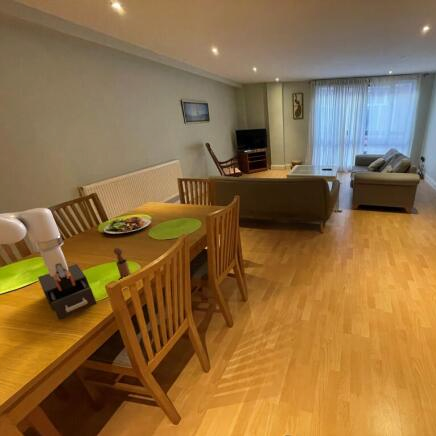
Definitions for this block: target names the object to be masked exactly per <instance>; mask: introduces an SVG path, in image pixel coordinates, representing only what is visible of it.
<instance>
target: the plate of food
mask: <svg viewBox="0 0 436 436" xmlns="http://www.w3.org/2000/svg"><path fill="white" fill-rule="evenodd" d="M151 223H152V218H149V217H143V216H142V217H140V216H130V217H127V218H124V219H123V218H122V219H121V220H120V219H118V218H116V219H114V220H113V221H111V222H110V224H108V225H107V226H105V227H104V228H103V232H104V233H107V234H124V233H130V232H134V231H139V230H141V229H145V227H148V226H149V225H150V224H151Z"/></svg>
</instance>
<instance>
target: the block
mask: <svg viewBox="0 0 436 436" xmlns="http://www.w3.org/2000/svg"><path fill="white" fill-rule="evenodd" d="M66 272H67V275H68V277H70V280H71V282H72V284H73V286H74V285H75V282H74V280H73V278H72V275H71V273H70V272H69V271H66ZM64 274H65V273H64ZM59 276H60V275H59ZM53 278H54V280H55V282H56V285H57V287H58V289H59V291H61V290H62V289H61V287H60V285H59V282H58V281H59V280H58V278H57V275H55V276H53Z"/></svg>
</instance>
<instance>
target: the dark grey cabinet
mask: <svg viewBox="0 0 436 436" xmlns="http://www.w3.org/2000/svg"><path fill="white" fill-rule="evenodd" d="M67 267H68V271H69V272H70V273H71V275H72V278H73V280H74V282H77V281H79V280H83V281H84V283H85V284H86V286H87V288H88V287H90V288H91V286H90V283H89V281H88V279H87V278H88V277H86V274H85V273H84V271H83V270H82V269H81V268H80V266H79V264H78V263H75V264H71V265H70V266H67ZM54 276H55V275H54ZM37 278H38V281H39V283H40V286H41V289H42V291H43V294H44V296H45V298H46V300H47V302H48V304H49V306H50V308H51V310H52V312H54V313H55V311H54V309H53V307H52V305H51V302H53V300H52V297H51V295H50V293H49V292H50V291H53V290H55V289H58V287H57V285H56V282H55V280H54V278H53V276H50V274H49V272H48V273H45V274H43V275H40V276H38V277H37Z"/></svg>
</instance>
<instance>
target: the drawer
mask: <svg viewBox="0 0 436 436" xmlns="http://www.w3.org/2000/svg"><path fill="white" fill-rule="evenodd" d="M49 293H50V295H51V297H52V300H53V302H51V305H52V307H53V309H54V313H55V315H56V317H57V319H58V321H59V322H60V321H62V320H64V319H66V318H69V317H71V316H73V315H76V314H77V313H80V312H82V311H84V310H86V309H89V308H91V307H93V306H95V305H98V303H97V300H96V297H95V295H94V293H93V290H92V288H91V286H90V287H88V288H87V286H86V284H85V283H84V281H83V280H79V281H77V282H75V285H74V286H73V287H70V288H68V289H65V290H61V291H59V289H55V290H53V291H50V292H49Z"/></svg>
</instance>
